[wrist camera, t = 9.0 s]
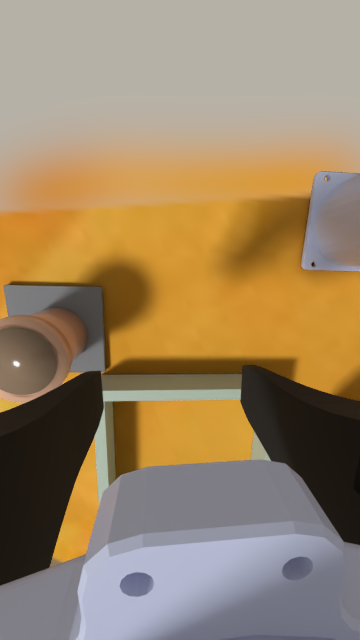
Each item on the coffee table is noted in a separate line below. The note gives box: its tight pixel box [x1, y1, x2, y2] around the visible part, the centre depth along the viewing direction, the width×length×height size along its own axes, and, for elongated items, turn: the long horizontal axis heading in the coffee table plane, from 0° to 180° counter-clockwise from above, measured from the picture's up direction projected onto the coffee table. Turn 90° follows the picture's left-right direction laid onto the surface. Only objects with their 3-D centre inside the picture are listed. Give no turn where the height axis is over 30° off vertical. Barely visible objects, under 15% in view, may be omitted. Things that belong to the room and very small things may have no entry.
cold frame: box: [95, 374, 271, 505], centre depth 22 cm, size 17×17×5 cm
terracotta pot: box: [0, 308, 88, 403], centre depth 17 cm, size 6×6×6 cm
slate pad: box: [4, 285, 106, 372], centre depth 21 cm, size 8×8×1 cm
